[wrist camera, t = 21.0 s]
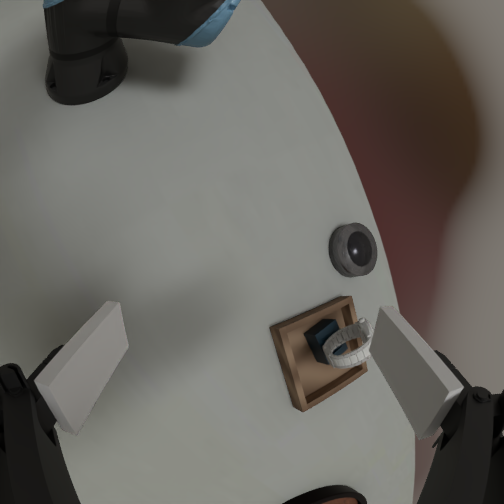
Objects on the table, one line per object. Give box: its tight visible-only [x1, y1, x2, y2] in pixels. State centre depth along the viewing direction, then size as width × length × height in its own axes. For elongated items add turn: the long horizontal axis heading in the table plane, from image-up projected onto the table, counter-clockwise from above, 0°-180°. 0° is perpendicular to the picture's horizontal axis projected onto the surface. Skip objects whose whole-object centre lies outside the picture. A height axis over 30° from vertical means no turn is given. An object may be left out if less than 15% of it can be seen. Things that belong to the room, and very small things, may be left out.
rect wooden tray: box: [270, 296, 368, 412], centre depth 40 cm, size 14×14×3 cm
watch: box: [303, 318, 374, 369], centre depth 36 cm, size 6×8×11 cm
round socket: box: [329, 223, 377, 277], centre depth 45 cm, size 9×9×3 cm
